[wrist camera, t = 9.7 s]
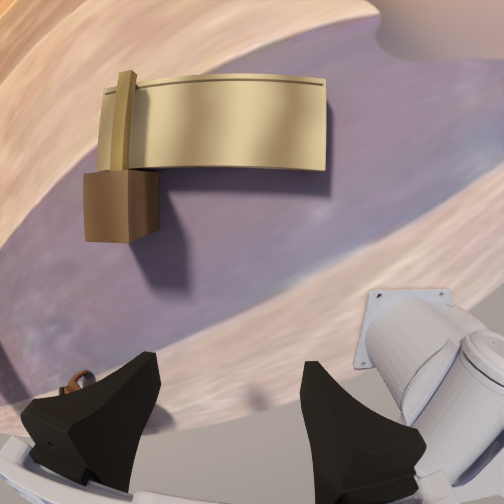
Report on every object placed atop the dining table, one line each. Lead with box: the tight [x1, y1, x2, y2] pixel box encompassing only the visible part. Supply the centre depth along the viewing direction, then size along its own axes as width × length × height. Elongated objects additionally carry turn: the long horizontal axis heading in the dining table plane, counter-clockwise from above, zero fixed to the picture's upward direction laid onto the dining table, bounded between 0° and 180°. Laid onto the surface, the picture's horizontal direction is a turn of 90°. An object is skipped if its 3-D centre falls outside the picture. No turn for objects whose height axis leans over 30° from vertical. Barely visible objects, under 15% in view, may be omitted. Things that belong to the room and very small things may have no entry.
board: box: [97, 74, 326, 172], centre depth 18 cm, size 17×7×2 cm, turn 88°
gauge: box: [83, 70, 159, 243], centre depth 17 cm, size 4×12×6 cm, turn 178°
